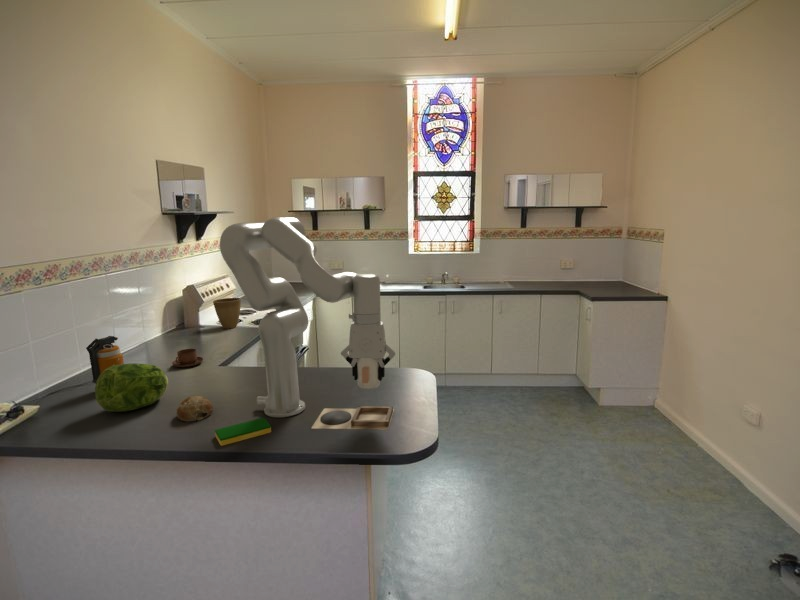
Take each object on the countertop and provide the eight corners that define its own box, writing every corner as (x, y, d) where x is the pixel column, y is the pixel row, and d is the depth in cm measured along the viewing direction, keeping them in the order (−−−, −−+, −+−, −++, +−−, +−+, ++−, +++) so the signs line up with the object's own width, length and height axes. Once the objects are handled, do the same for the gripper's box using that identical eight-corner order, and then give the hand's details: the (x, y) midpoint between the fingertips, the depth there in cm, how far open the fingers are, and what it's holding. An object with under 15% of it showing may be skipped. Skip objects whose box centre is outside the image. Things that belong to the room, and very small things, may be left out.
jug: (359, 380, 140) (359, 351, 138) (381, 381, 139) (380, 351, 138) (353, 391, 131) (353, 360, 130) (376, 392, 131) (376, 361, 129)
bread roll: (187, 435, 143) (192, 414, 139) (167, 415, 147) (171, 395, 144) (216, 422, 151) (220, 402, 148) (196, 404, 155) (200, 384, 152)
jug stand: (311, 431, 133) (310, 423, 133) (324, 411, 147) (323, 403, 146) (388, 432, 131) (388, 424, 130) (394, 412, 144) (394, 404, 144)
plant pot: (247, 324, 277) (245, 297, 274) (236, 330, 262) (233, 301, 259) (223, 324, 278) (220, 297, 275) (211, 330, 264) (207, 302, 261)
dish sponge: (215, 437, 133) (214, 429, 132) (264, 424, 140) (263, 417, 140) (220, 447, 127) (220, 439, 126) (271, 433, 134) (271, 425, 134)
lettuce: (179, 409, 160) (182, 363, 163) (118, 412, 142) (123, 361, 144) (148, 409, 168) (151, 365, 170) (86, 412, 149) (90, 363, 152)
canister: (132, 386, 176) (125, 334, 173) (103, 397, 166) (94, 342, 163) (116, 384, 180) (109, 333, 176) (87, 394, 170) (78, 340, 167)
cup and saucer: (196, 369, 195) (194, 354, 194) (167, 370, 196) (165, 355, 194) (208, 360, 207) (206, 346, 206) (181, 361, 207) (179, 347, 206)
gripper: (333, 320, 130) (336, 382, 133) (396, 321, 128) (397, 384, 132) (340, 314, 137) (342, 373, 141) (399, 315, 136) (399, 375, 139)
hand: (368, 378), depth 136 cm, fingers closed on jug, 6 cm apart
